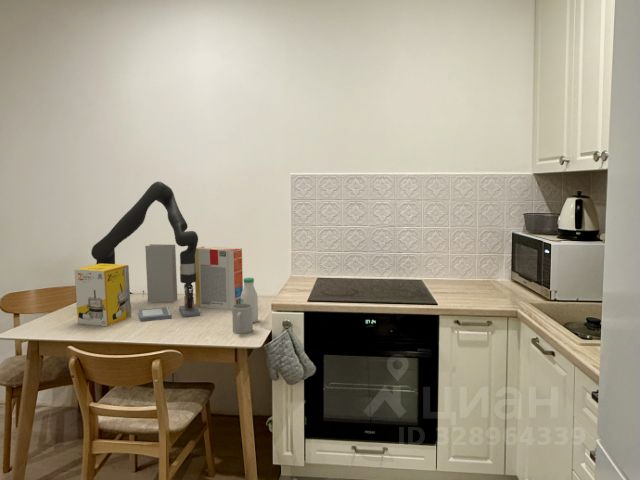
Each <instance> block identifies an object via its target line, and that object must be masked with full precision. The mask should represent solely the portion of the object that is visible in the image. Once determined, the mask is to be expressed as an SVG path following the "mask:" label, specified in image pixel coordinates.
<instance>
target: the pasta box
mask: <svg viewBox="0 0 640 480" xmlns="http://www.w3.org/2000/svg"><path fill="white" fill-rule="evenodd" d="M195 265H196V282H194V283H195V284H194V287H195V289H194V290H195V304H196V306H197V308H199V307H200V308H208V309H219V310H228V311H232V306H233V305H236V304H241V293H242V291H243V288H244V286H243V285H244V278H243V248H241V247H240V248H239V247H238V248H237V247H223V246H222V247H221V246H219V247H217V246H206V245H205V246H198V247H196V252H195Z"/></svg>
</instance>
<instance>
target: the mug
mask: <svg viewBox="0 0 640 480" xmlns="http://www.w3.org/2000/svg"><path fill="white" fill-rule="evenodd" d="M231 313H232V332H233V333H235V334H238V335H239V334H240V335H241V334H243V335H244V334H250V333H252V332H253V331H254V329H253V328H254V326H253V323H252V305H251V304H236V305H233V306H232V310H231Z"/></svg>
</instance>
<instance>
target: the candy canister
mask: <svg viewBox="0 0 640 480" xmlns="http://www.w3.org/2000/svg"><path fill="white" fill-rule="evenodd" d="M254 281H255V279H254V278H253V277H244V278H243V285H244V286H243V291H242V293H241V304H251V305H252V323H256V322H258V320H259V310H258V309H259V302H258V301H259V300H258V293H257V291H256V289H255V286H254V283H255V282H254Z"/></svg>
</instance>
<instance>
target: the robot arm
mask: <svg viewBox="0 0 640 480" xmlns="http://www.w3.org/2000/svg"><path fill="white" fill-rule="evenodd" d="M155 202H158V203H160V204H161V205H163V207H164V208H165V210H166V212H167V219H168V222H169V225H170V226H171V227H172V230H173V234H174V239H175V243H176V245H178V246H179V247H187V248H186V249H184V250H183V251H181V252H180V253H179V262H180V263H179V265H180V266H179V277H180V283H181V284H183V285H184V286H183V289H184V296H187V307H188V308H192V300H193V297H194V285H193V284H192V283H195V282H196V265H195V252H196V248H198V247H197V246H198V243H199V235H198V233H197V232H196V231H194V230H189V231H188V230H187V229H188V223H187V222H186V219H185V218H184V216H183V214H182V213H181V210H180V208H179V206H178V203H177V201H176V197H175V194H174V192H173V189H172V188H171V187H170V186H169V185H167V184H165V183H164V182H162V181H156V182H153V183H152V184H151V185H150V186H149V187H148V188H147V190H146V191H145V192H144V194H143V195H142V196H141V197H140V198H139V199H138V200H137V202H136V203H135V204H134V205H133V206H132V207H131V208H130V209H129V210H128V211H127V212H126V213H125V214H124V215H123V216H122V217H121V218H120V219H119V220H118V222H117V223H116V224H115V225H114V226H113V228H111V229H110V231H109V232H108V233H107V234H106V235H105V236H103V238H101V239H100V240H99V241H98V242H96V243H95V244H94V245H93V246H92V249H91V250H90V251H91V252H90V253H91V257H92V258H93V259H94V260H95V261H96V264H116V252H115V249H116V248H117V247H118V246H119V245H120V243H122V242H124V240H126V239H127V238H129V237H130V236H132V234H133V233H135V232H136V231H137V230H138V229H140V227H142V224H143V223H144V222H145V219H146V217H147V212H148V210H149V208H150V207H151V205H153V203H155ZM96 264H95V265H96ZM189 296H191V298H189Z"/></svg>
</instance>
